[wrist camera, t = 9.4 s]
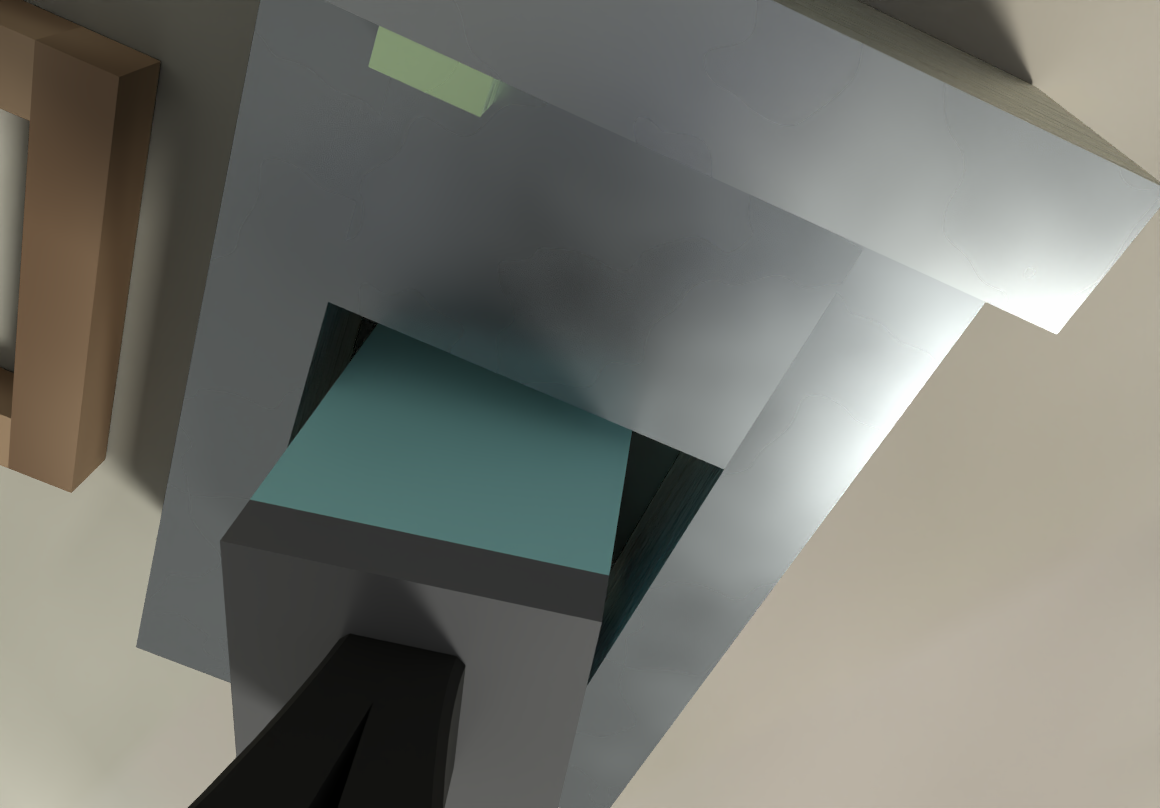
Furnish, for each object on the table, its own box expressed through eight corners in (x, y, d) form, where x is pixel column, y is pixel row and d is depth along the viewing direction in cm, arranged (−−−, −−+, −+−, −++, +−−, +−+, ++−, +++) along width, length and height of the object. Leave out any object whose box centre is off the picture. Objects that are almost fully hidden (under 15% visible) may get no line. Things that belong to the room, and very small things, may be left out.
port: (1036, 86, 11) (1171, 192, 8) (613, 712, 18) (587, 913, 15) (389, -225, 10) (224, -262, 7) (206, 552, 17) (78, 726, 14)
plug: (643, 361, 14) (601, 622, 9) (599, 557, 16) (548, 848, 11) (387, 310, 14) (219, 541, 9) (378, 510, 16) (238, 779, 11)
